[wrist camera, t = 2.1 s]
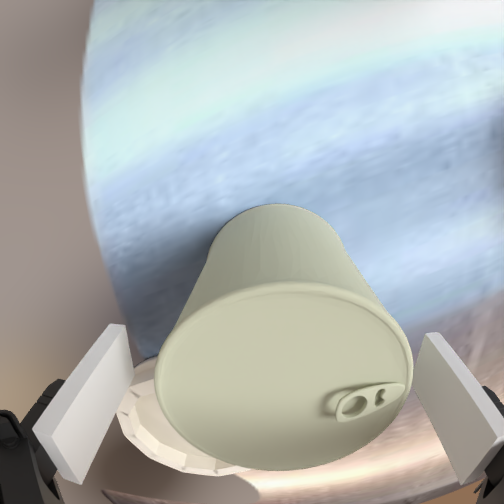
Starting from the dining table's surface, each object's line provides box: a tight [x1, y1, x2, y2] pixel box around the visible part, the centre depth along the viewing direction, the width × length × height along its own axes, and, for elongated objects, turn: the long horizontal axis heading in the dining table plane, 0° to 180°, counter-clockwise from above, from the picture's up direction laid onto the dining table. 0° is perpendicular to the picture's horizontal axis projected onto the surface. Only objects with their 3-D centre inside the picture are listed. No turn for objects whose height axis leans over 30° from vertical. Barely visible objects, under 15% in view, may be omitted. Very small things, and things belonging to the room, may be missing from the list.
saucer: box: [116, 356, 252, 476], centre depth 24 cm, size 14×14×2 cm
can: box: [154, 204, 413, 471], centre depth 15 cm, size 9×9×12 cm
